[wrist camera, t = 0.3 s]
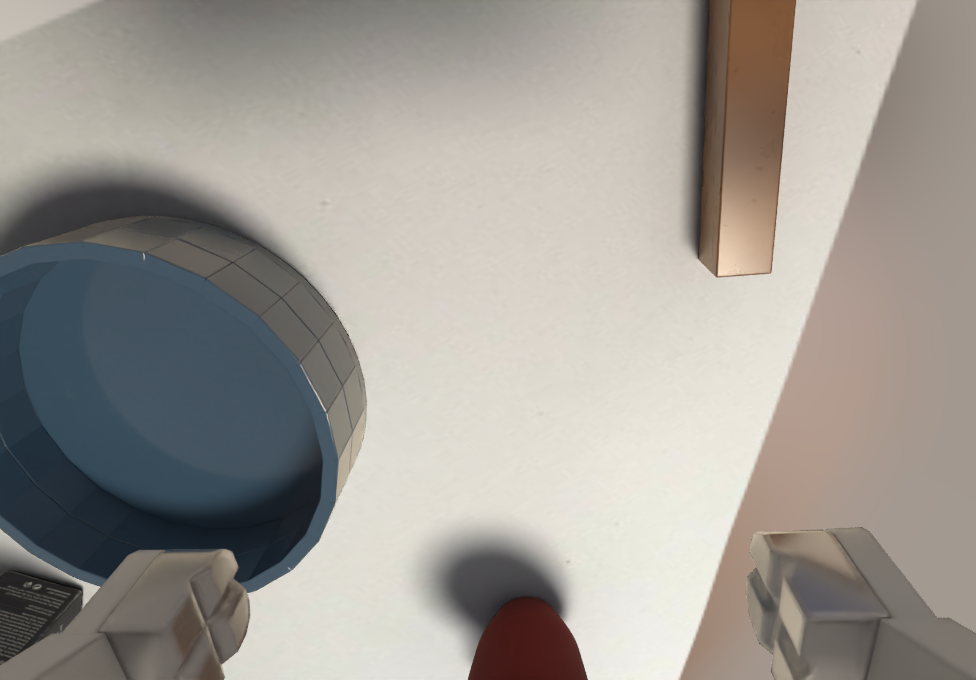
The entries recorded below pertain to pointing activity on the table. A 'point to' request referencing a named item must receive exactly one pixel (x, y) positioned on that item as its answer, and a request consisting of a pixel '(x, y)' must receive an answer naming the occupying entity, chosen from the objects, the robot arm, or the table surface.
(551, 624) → the mug
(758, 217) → the stick
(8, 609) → the box
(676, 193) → the table surface
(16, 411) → the bowl
